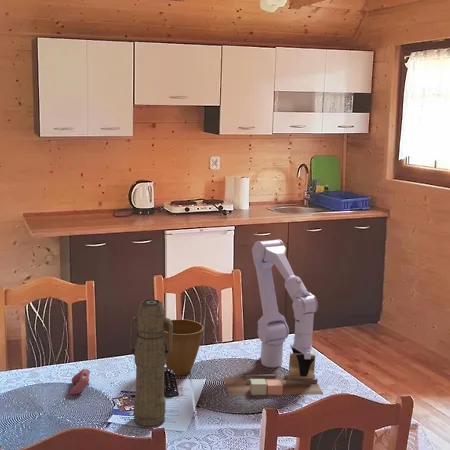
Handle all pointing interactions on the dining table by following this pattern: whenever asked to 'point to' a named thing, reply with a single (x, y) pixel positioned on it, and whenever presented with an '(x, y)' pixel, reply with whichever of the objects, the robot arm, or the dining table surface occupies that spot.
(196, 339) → the plant pot
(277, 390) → the offcut terracotta
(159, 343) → the thermos
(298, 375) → the birch sheet
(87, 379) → the red curved piece
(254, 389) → the offcut sage
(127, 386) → the dining table surface
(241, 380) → the walnut rack
